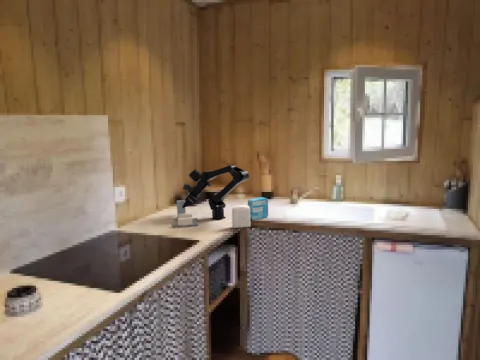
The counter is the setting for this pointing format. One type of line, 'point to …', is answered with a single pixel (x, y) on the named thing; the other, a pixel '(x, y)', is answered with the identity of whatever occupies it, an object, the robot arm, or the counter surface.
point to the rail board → (185, 220)
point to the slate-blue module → (180, 207)
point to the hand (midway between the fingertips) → (182, 205)
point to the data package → (258, 208)
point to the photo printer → (241, 216)
